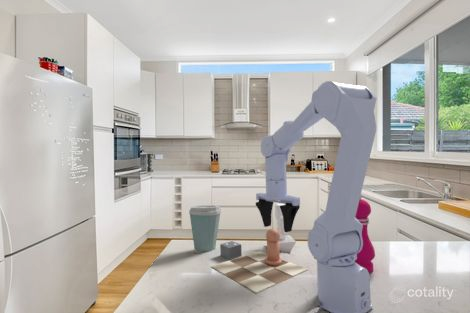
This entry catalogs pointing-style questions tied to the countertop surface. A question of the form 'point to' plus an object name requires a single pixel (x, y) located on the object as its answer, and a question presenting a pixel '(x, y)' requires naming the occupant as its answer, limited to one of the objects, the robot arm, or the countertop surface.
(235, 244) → the die
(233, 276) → the board
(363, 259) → the pepper mill
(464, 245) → the countertop surface
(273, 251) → the pawn
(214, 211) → the disposable coffee cup
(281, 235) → the figurine
